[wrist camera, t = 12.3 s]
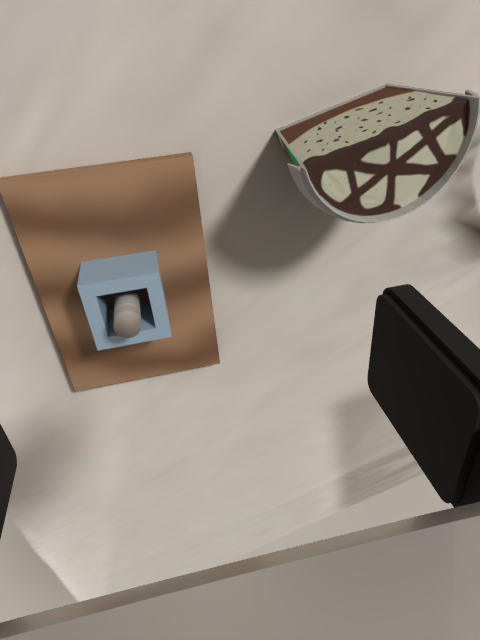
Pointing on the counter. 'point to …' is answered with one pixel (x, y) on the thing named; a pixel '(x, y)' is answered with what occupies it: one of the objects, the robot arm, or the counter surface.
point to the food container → (380, 150)
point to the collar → (122, 277)
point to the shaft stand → (111, 241)
